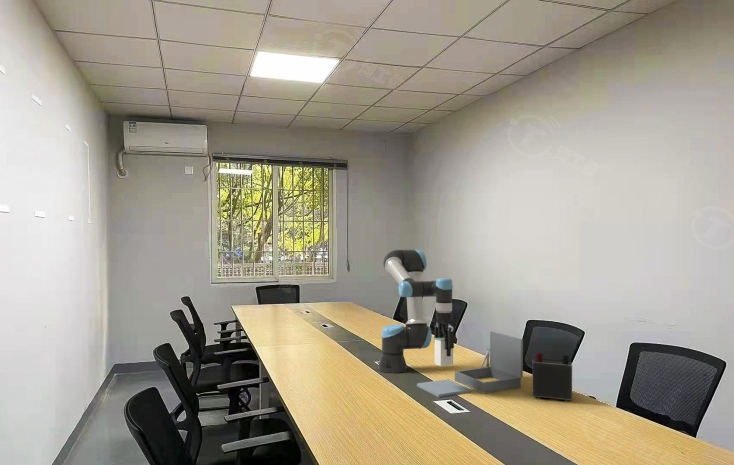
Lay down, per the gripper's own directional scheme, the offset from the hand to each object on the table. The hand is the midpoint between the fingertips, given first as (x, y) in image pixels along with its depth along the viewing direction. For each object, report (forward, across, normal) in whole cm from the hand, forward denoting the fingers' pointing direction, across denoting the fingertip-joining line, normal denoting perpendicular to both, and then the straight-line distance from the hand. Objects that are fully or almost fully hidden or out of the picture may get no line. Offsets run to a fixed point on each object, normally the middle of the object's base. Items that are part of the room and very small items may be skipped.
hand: (443, 361), depth 230 cm
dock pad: (+13, 0, 0) cm, 13 cm away
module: (+1, 0, 0) cm, 1 cm away
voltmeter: (+13, -28, -39) cm, 50 cm away
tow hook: (+13, +16, -39) cm, 44 cm away
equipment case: (+13, -2, -24) cm, 27 cm away
